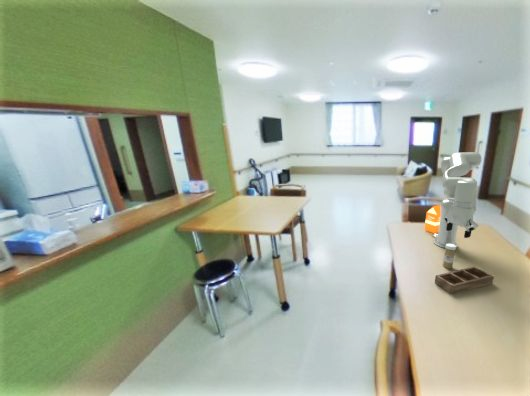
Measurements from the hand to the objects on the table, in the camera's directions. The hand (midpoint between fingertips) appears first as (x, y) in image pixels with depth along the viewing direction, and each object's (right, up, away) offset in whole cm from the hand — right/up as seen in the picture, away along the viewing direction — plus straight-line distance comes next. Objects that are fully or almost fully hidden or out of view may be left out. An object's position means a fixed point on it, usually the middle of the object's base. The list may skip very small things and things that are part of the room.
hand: (457, 233), depth 125 cm
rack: (-4, -24, -8) cm, 26 cm away
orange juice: (+24, -6, +51) cm, 57 cm away
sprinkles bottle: (0, -20, +7) cm, 21 cm away
